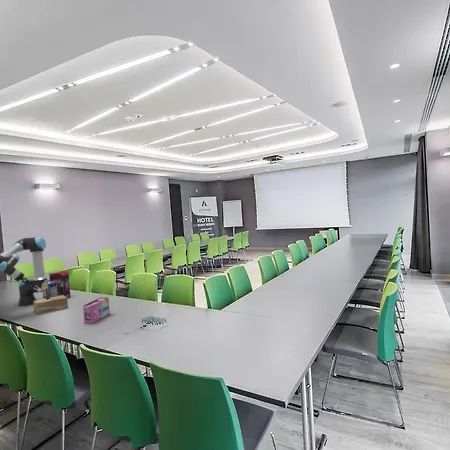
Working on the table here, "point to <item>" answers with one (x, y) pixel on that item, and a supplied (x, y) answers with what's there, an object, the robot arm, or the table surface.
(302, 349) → the table surface
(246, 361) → the table surface
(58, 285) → the graphics card box
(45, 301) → the flap
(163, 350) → the table surface
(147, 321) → the grey bumpy mound
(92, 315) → the gum box
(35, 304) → the carton
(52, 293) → the beverage box
